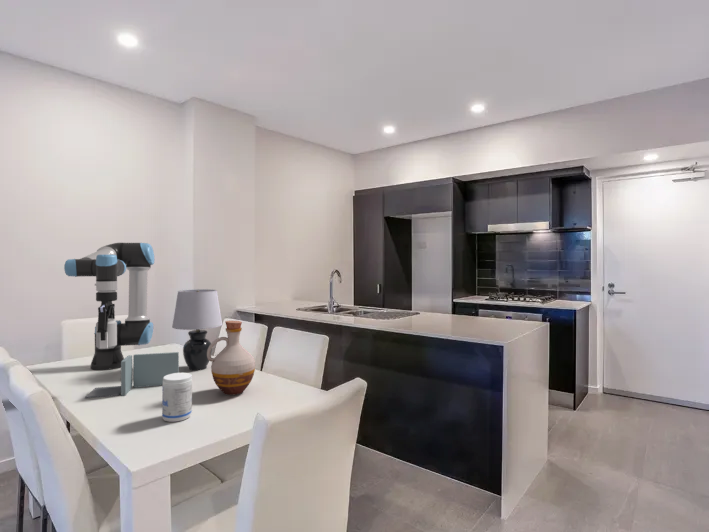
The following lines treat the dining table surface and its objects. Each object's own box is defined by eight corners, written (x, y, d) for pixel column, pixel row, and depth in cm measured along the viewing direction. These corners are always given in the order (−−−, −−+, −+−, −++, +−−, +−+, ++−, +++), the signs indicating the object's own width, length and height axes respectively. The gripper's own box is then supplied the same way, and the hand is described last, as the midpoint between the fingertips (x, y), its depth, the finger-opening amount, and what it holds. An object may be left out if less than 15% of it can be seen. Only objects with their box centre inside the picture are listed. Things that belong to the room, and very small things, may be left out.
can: (91, 349, 165) (91, 319, 165) (106, 345, 172) (106, 317, 172) (107, 349, 163) (107, 320, 163) (121, 346, 171) (121, 318, 170)
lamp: (228, 370, 203) (228, 291, 202) (177, 377, 189) (177, 293, 189) (215, 360, 223) (215, 288, 222) (168, 366, 209) (168, 290, 209)
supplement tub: (157, 417, 141) (157, 376, 141) (183, 410, 148) (183, 370, 148) (170, 425, 135) (170, 381, 135) (197, 417, 142) (197, 375, 142)
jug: (209, 402, 156) (209, 325, 156) (203, 389, 172) (204, 319, 172) (259, 395, 165) (260, 322, 165) (250, 383, 181) (250, 317, 181)
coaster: (95, 389, 172) (95, 387, 172) (126, 386, 175) (126, 385, 175) (85, 398, 161) (85, 396, 161) (119, 395, 164) (119, 394, 164)
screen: (129, 386, 176) (128, 354, 176) (178, 382, 181) (178, 352, 181) (121, 395, 164) (121, 361, 163) (174, 391, 169) (174, 358, 169)
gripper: (104, 289, 176) (104, 341, 176) (87, 293, 157) (87, 351, 157) (123, 289, 178) (123, 341, 179) (109, 293, 159) (109, 350, 159)
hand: (106, 346), depth 168 cm, fingers closed on can, 7 cm apart
